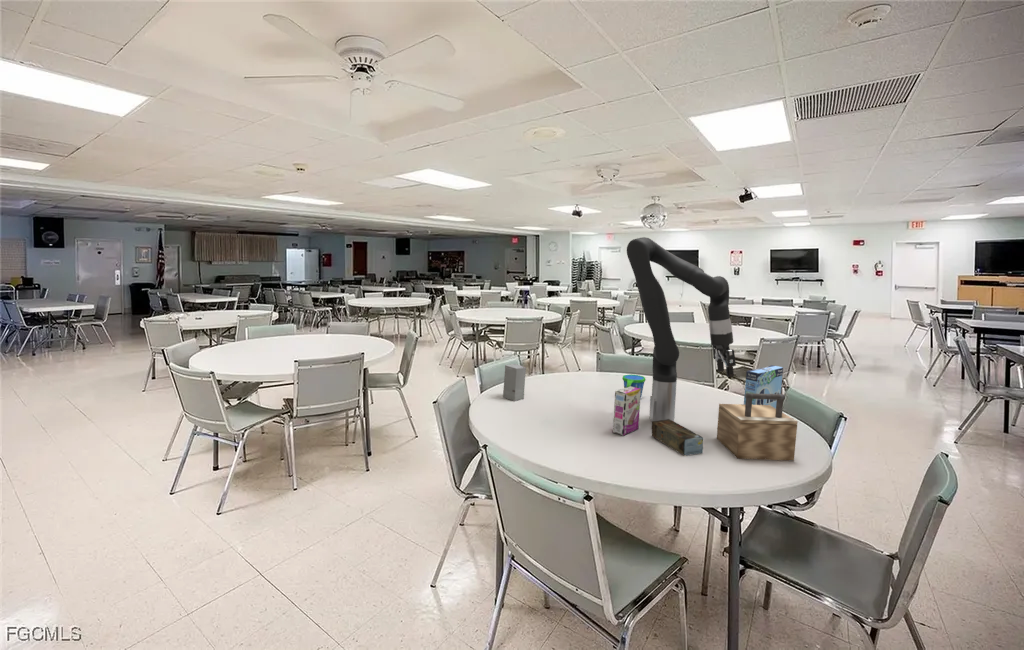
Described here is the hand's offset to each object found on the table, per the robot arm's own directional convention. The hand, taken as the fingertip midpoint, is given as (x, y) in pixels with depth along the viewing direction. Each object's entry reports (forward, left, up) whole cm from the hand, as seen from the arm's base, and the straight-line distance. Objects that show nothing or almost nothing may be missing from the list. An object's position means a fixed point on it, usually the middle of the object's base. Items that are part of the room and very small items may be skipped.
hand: (725, 373), depth 171 cm
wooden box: (+6, -13, -23) cm, 28 cm away
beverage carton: (-20, -11, -24) cm, 33 cm away
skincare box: (-80, +41, -24) cm, 93 cm away
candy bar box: (-35, +1, -24) cm, 43 cm away
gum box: (+21, +14, -24) cm, 34 cm away
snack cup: (-23, +48, -24) cm, 58 cm away
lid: (+6, -13, -11) cm, 18 cm away
